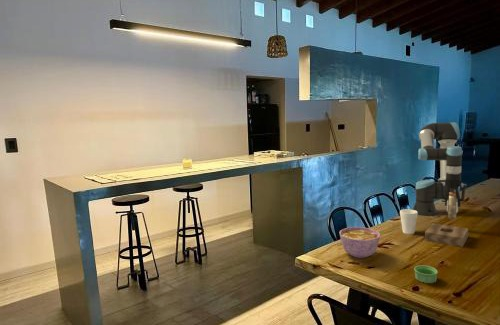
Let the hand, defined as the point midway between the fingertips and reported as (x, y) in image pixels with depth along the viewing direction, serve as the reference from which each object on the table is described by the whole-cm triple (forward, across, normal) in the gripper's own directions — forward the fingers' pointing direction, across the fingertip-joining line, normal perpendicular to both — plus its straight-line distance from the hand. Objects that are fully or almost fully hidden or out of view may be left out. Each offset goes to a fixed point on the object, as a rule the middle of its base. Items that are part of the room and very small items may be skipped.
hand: (452, 211), depth 197 cm
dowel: (+4, 0, 0) cm, 4 cm away
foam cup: (+12, -20, -17) cm, 28 cm away
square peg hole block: (+12, 0, -17) cm, 20 cm away
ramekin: (+11, +2, -73) cm, 73 cm away
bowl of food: (+11, -31, -64) cm, 72 cm away
